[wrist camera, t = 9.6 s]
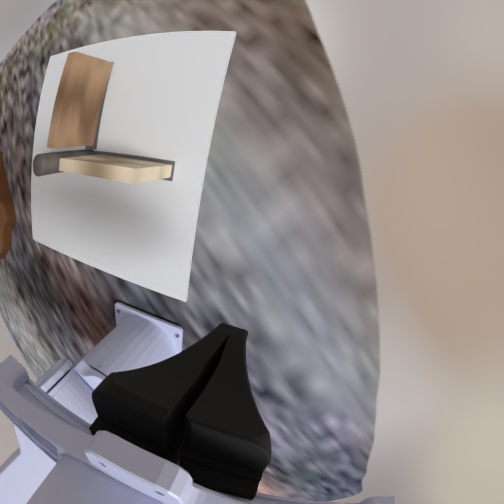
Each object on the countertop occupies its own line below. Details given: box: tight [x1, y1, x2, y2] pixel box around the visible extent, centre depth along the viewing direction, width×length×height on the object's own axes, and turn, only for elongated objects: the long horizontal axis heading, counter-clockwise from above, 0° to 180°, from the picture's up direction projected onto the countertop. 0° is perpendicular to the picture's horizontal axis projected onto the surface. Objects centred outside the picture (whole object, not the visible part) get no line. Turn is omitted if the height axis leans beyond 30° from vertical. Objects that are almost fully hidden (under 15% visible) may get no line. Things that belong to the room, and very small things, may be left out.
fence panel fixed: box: [33, 149, 172, 184], centre depth 18 cm, size 10×2×6 cm, turn 78°
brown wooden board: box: [47, 52, 113, 148], centre depth 17 cm, size 8×1×5 cm, turn 165°
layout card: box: [31, 31, 236, 302], centre depth 21 cm, size 23×23×1 cm
